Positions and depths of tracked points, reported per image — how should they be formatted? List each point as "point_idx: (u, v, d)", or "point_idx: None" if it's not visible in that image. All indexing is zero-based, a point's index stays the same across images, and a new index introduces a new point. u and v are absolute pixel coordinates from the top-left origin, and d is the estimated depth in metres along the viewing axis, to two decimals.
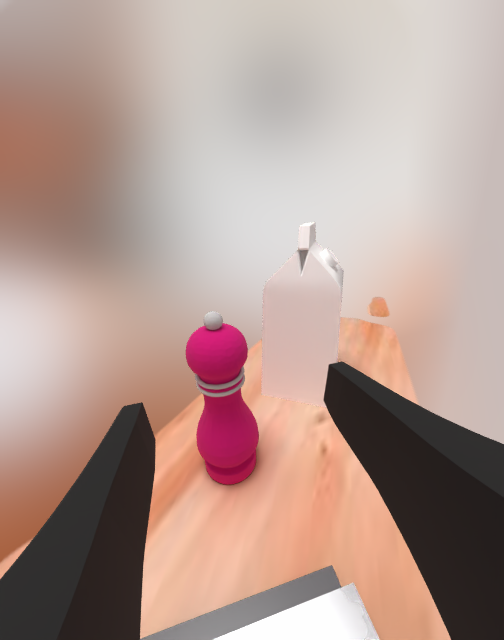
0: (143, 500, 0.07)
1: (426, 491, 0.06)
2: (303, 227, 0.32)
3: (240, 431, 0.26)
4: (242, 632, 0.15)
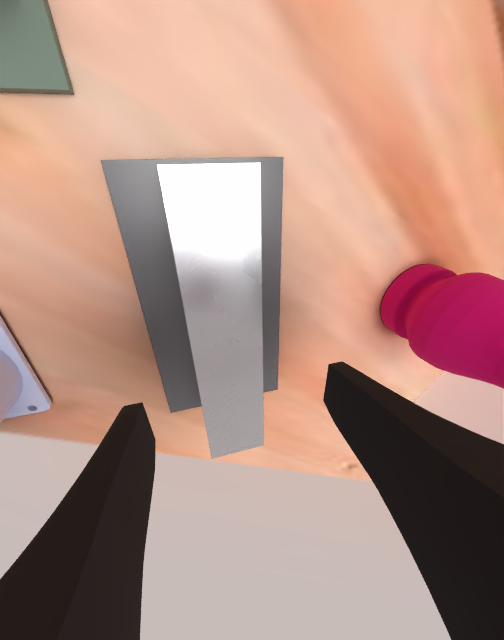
0: (143, 500, 0.07)
1: (426, 491, 0.06)
2: None
3: (463, 366, 0.16)
4: (259, 355, 0.13)
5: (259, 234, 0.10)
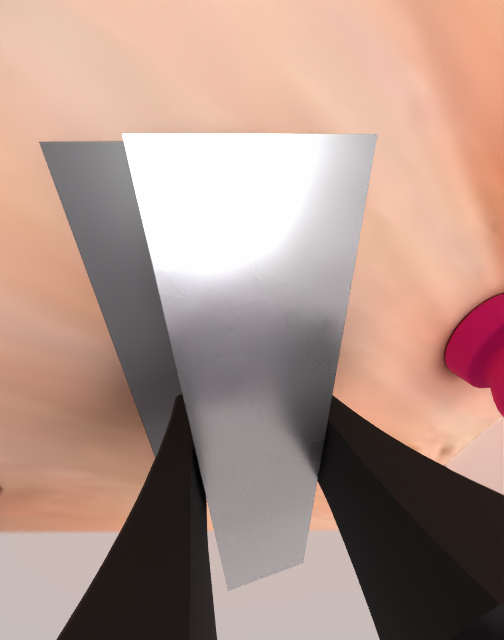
0: None
1: (364, 513, 0.06)
2: None
3: None
4: (314, 468, 0.08)
5: (347, 289, 0.05)
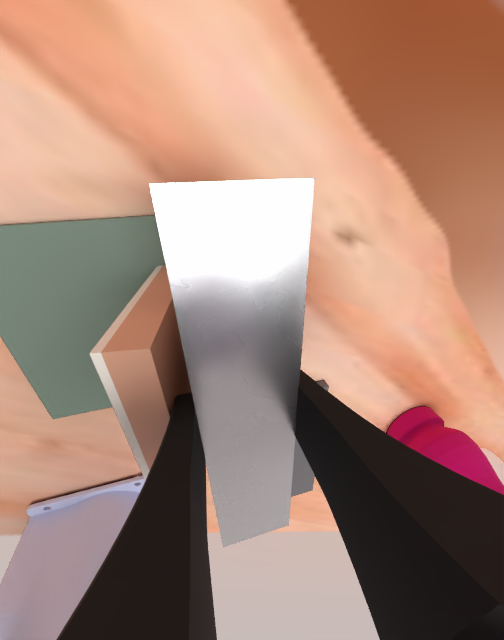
0: (202, 483, 0.08)
1: (364, 513, 0.06)
2: None
3: None
4: (291, 431, 0.10)
5: (304, 282, 0.07)
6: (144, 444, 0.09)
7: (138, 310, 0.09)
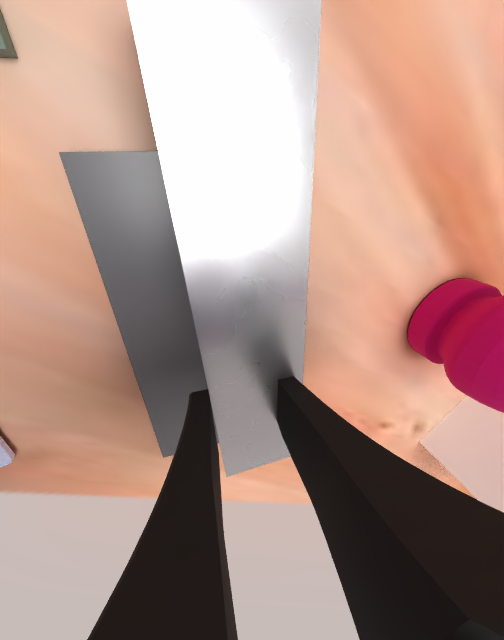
0: (218, 479, 0.08)
1: (346, 519, 0.06)
2: None
3: None
4: (301, 313, 0.08)
5: (316, 48, 0.05)
6: None
7: None
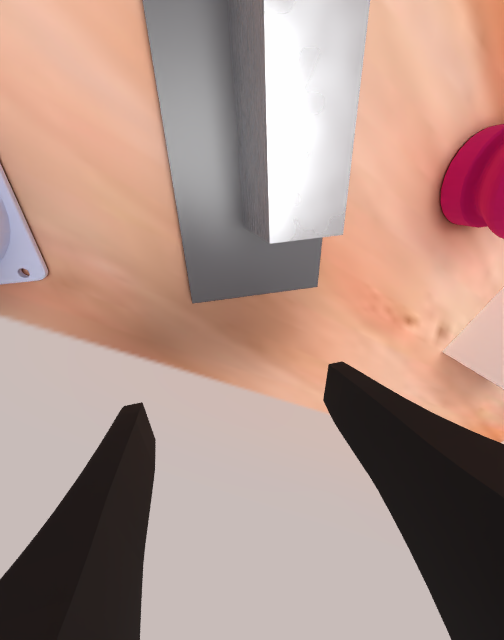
0: (143, 500, 0.07)
1: (426, 491, 0.06)
2: None
3: None
4: None
5: None
6: None
7: None
